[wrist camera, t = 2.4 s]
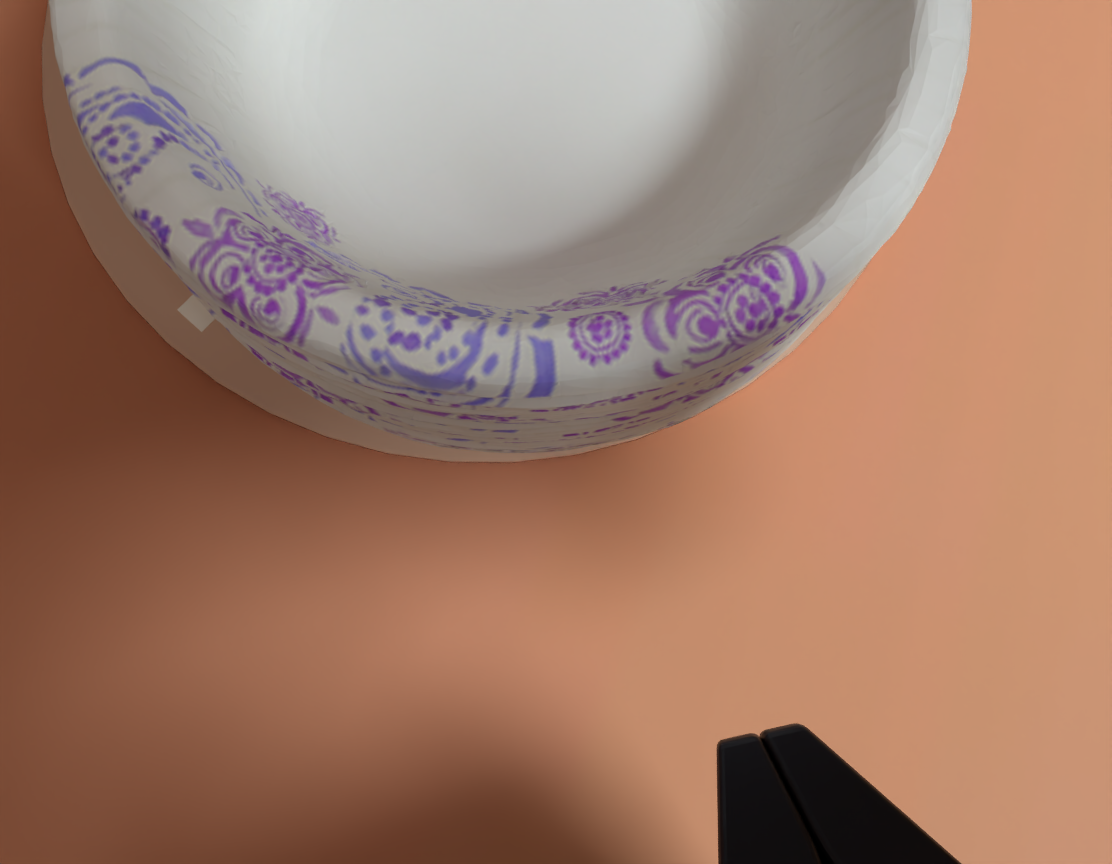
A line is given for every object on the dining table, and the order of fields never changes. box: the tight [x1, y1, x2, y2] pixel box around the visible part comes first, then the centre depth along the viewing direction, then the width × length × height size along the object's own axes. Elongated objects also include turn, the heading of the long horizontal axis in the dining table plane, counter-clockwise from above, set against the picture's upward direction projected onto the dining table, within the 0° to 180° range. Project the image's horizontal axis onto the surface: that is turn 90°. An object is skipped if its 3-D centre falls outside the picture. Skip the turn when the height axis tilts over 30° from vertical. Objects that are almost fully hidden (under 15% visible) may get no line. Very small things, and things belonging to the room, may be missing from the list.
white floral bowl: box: [49, 0, 972, 453], centre depth 19 cm, size 15×15×8 cm
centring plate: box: [42, 0, 872, 463], centre depth 24 cm, size 22×22×1 cm
